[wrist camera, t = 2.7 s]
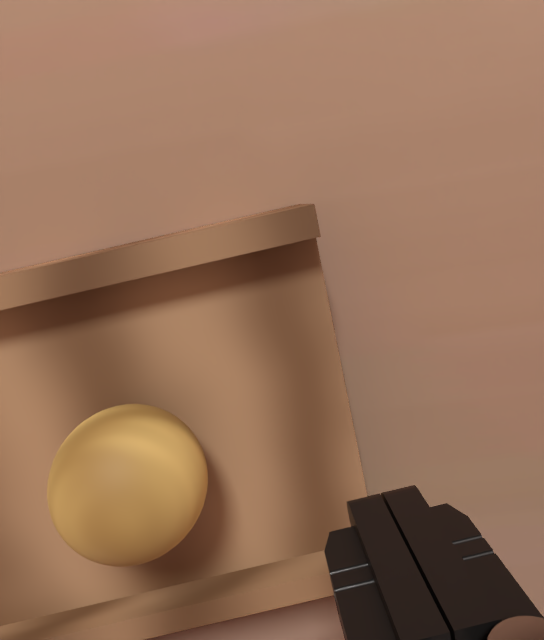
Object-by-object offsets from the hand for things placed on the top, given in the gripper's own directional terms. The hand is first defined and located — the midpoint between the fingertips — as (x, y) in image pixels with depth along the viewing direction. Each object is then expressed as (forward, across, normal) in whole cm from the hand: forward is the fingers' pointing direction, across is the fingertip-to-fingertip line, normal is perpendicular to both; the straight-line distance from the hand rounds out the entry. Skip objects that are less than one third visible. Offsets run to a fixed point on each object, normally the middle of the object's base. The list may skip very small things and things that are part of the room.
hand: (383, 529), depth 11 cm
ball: (+5, +7, 0) cm, 8 cm away
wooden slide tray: (+11, +12, 0) cm, 16 cm away
